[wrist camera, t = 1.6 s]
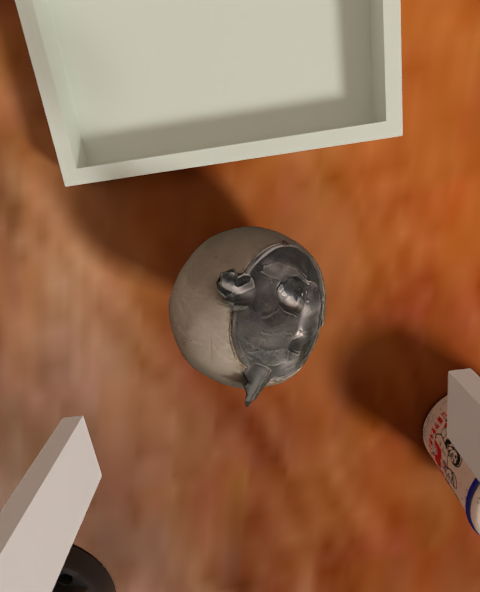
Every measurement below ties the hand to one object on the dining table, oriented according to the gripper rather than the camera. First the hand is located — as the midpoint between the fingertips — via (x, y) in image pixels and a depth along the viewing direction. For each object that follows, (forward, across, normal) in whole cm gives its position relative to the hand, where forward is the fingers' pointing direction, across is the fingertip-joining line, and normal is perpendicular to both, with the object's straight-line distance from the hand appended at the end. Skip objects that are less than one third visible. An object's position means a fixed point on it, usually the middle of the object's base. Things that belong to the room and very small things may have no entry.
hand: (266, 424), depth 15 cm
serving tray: (+19, 0, -17) cm, 26 cm away
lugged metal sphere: (+19, 0, 0) cm, 19 cm away
